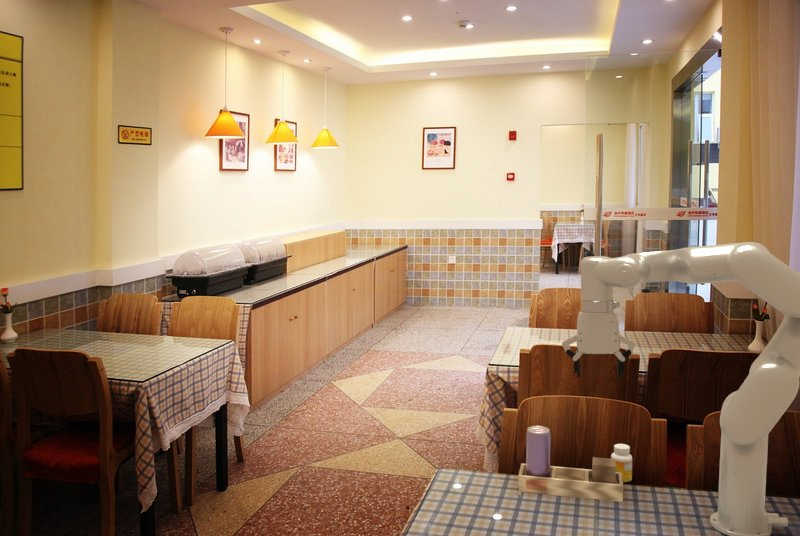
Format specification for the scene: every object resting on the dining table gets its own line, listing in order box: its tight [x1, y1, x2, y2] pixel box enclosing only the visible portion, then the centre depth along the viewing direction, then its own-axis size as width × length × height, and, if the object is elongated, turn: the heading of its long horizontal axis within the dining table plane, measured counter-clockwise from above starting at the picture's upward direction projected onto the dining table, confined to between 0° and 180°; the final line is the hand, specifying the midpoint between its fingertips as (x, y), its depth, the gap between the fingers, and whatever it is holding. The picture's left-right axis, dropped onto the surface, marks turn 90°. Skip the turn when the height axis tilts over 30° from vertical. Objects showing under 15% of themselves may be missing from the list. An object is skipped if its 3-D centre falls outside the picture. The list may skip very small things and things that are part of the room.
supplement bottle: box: [610, 443, 633, 483], centre depth 187 cm, size 5×5×10 cm
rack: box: [517, 462, 624, 503], centre depth 180 cm, size 25×9×5 cm, turn 75°
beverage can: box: [525, 425, 551, 478], centre depth 182 cm, size 6×6×15 cm
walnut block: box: [591, 456, 616, 484], centre depth 178 cm, size 6×6×8 cm
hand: (598, 376), depth 173 cm, fingers open, 9 cm apart
